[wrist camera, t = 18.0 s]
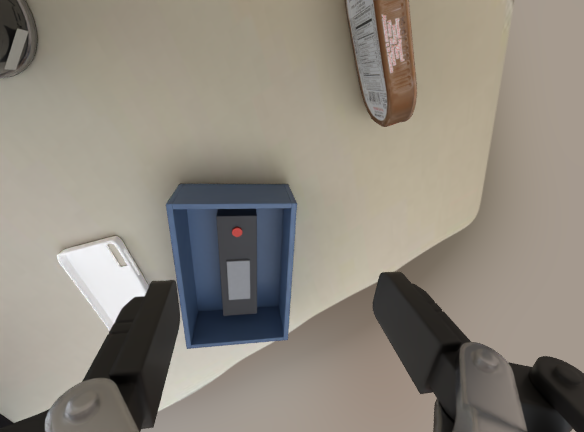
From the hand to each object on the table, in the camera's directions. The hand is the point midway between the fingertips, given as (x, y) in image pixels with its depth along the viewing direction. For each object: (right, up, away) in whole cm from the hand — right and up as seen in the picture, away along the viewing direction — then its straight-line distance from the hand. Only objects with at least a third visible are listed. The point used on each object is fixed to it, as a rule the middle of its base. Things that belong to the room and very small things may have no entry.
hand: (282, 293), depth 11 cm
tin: (+8, +21, +19) cm, 30 cm away
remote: (-7, -2, +27) cm, 28 cm away
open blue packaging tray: (-7, -2, +27) cm, 28 cm away
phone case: (-23, -7, +27) cm, 36 cm away
